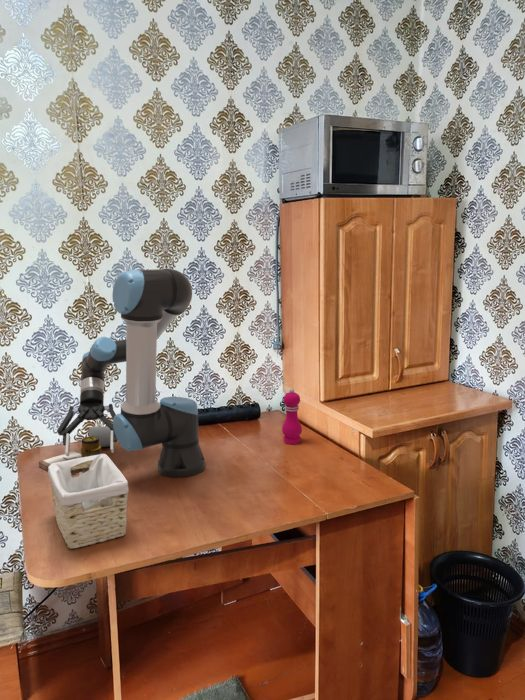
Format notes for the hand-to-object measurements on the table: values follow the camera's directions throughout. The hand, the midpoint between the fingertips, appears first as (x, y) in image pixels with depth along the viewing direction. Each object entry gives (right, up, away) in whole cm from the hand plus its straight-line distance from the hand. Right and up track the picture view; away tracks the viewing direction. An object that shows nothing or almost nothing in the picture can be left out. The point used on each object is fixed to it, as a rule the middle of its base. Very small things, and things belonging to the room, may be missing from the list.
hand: (89, 452), depth 178 cm
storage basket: (+9, -13, -30) cm, 35 cm away
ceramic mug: (-5, -3, +27) cm, 28 cm away
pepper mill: (+65, -1, +28) cm, 71 cm away
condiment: (+1, -8, +1) cm, 8 cm away
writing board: (-10, -6, +8) cm, 14 cm away
